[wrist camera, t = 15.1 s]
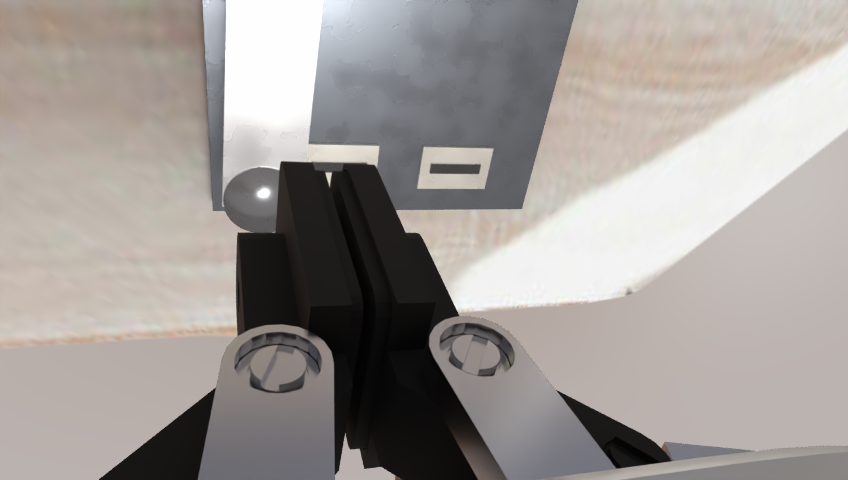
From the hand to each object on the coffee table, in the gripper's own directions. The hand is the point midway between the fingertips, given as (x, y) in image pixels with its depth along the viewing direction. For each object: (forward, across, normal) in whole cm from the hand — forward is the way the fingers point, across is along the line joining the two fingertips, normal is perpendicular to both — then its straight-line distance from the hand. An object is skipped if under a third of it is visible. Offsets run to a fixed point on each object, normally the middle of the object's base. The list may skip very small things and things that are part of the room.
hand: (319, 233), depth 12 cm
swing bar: (+25, -1, +4) cm, 25 cm away
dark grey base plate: (+28, -9, +8) cm, 31 cm away
